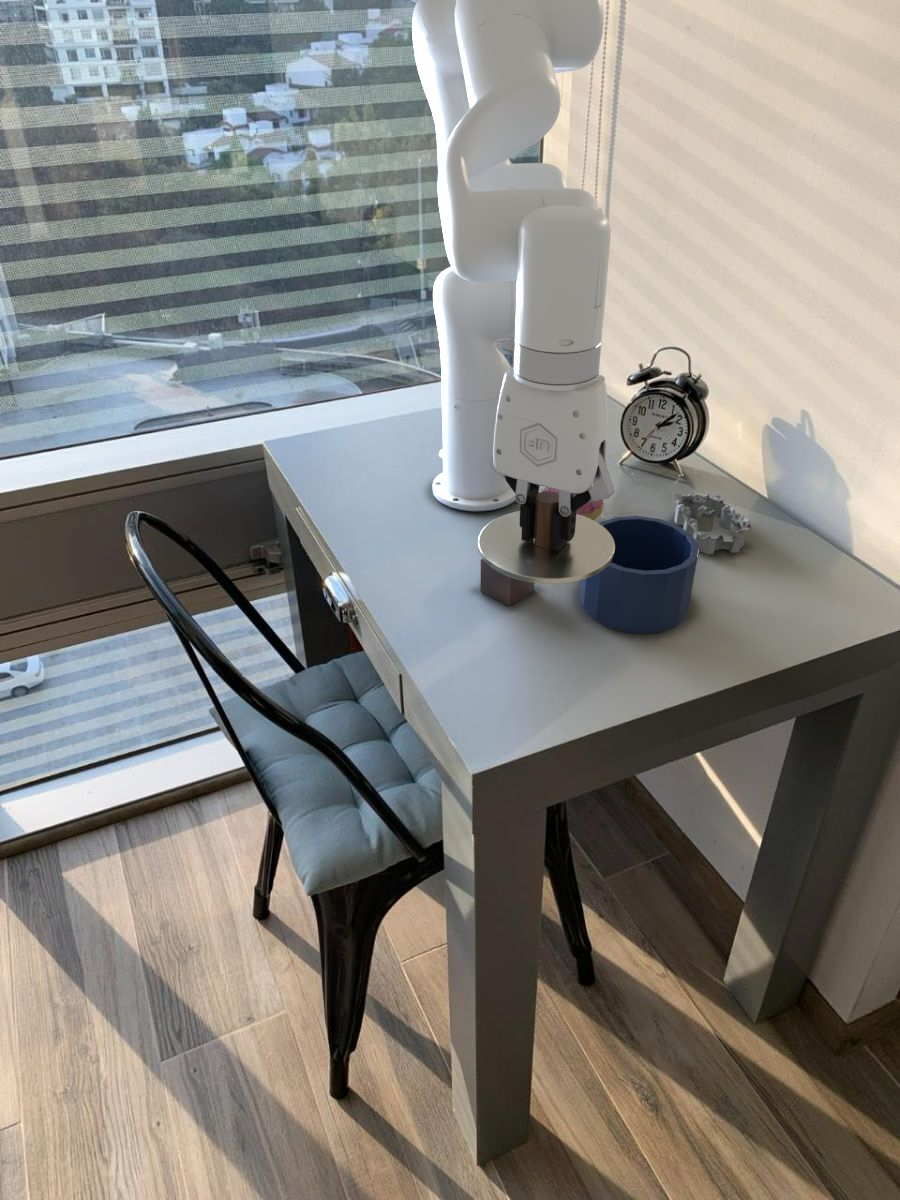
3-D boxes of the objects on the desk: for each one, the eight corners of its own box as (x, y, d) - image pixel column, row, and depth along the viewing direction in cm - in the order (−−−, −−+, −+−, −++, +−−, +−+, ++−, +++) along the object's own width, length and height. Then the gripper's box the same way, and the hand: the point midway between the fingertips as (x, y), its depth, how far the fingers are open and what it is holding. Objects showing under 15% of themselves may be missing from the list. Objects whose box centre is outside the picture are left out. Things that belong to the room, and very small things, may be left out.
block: (480, 591, 107) (480, 559, 105) (504, 576, 110) (505, 544, 107) (509, 606, 105) (511, 573, 102) (534, 590, 107) (535, 557, 105)
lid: (454, 538, 92) (453, 484, 89) (564, 507, 97) (568, 455, 94) (522, 604, 82) (525, 546, 79) (641, 566, 87) (649, 510, 84)
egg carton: (749, 554, 114) (755, 526, 111) (691, 556, 113) (696, 529, 111) (722, 512, 122) (728, 486, 120) (668, 515, 122) (673, 488, 120)
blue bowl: (559, 589, 107) (563, 532, 103) (643, 562, 112) (651, 506, 108) (622, 646, 98) (629, 585, 94) (711, 614, 103) (722, 555, 98)
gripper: (456, 356, 80) (457, 534, 90) (625, 391, 72) (605, 580, 83) (498, 333, 85) (495, 504, 95) (660, 363, 78) (637, 545, 88)
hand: (546, 538), depth 89 cm, fingers closed on lid, 2 cm apart
